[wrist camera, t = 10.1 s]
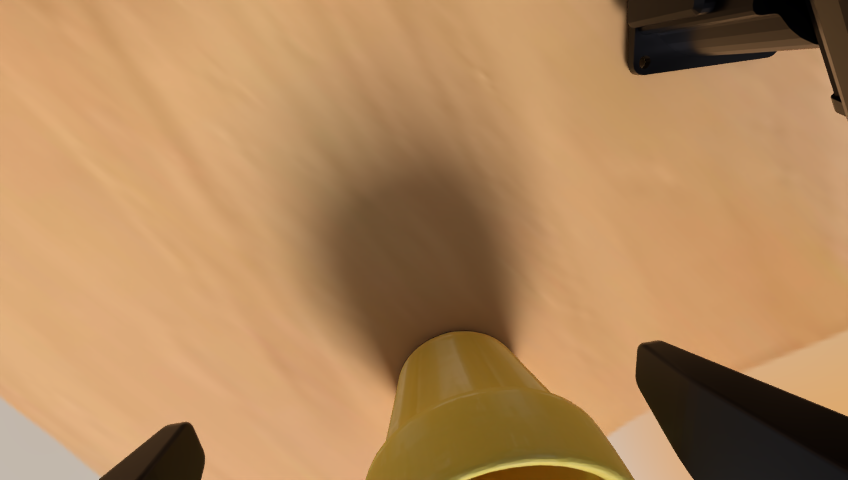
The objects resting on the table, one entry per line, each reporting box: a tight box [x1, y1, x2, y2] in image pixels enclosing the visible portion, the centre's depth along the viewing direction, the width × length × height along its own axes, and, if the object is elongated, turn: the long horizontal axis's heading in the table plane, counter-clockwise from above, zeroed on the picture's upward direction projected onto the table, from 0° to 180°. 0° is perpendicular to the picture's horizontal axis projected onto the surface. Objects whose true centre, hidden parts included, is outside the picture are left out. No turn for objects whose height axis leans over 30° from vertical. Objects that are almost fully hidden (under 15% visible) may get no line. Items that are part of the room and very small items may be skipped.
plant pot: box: [366, 331, 634, 480], centre depth 19 cm, size 10×10×10 cm
